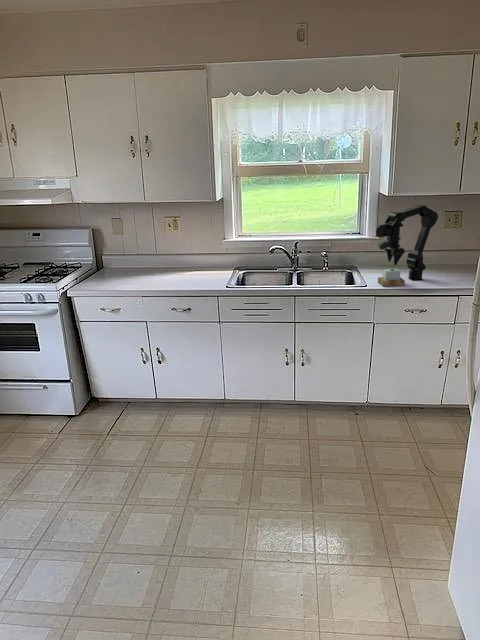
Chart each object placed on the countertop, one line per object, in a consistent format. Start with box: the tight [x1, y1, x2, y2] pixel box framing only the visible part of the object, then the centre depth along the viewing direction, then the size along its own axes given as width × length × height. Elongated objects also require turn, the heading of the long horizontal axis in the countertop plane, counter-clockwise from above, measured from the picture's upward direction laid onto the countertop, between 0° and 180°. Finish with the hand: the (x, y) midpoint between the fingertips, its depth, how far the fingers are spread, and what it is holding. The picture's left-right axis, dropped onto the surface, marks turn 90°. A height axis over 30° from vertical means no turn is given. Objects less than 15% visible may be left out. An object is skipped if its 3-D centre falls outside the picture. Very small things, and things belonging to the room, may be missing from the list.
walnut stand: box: [377, 276, 406, 288], centre depth 269 cm, size 12×9×3 cm
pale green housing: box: [382, 268, 402, 280], centre depth 268 cm, size 6×8×6 cm
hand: (392, 263), depth 266 cm, fingers open, 9 cm apart
